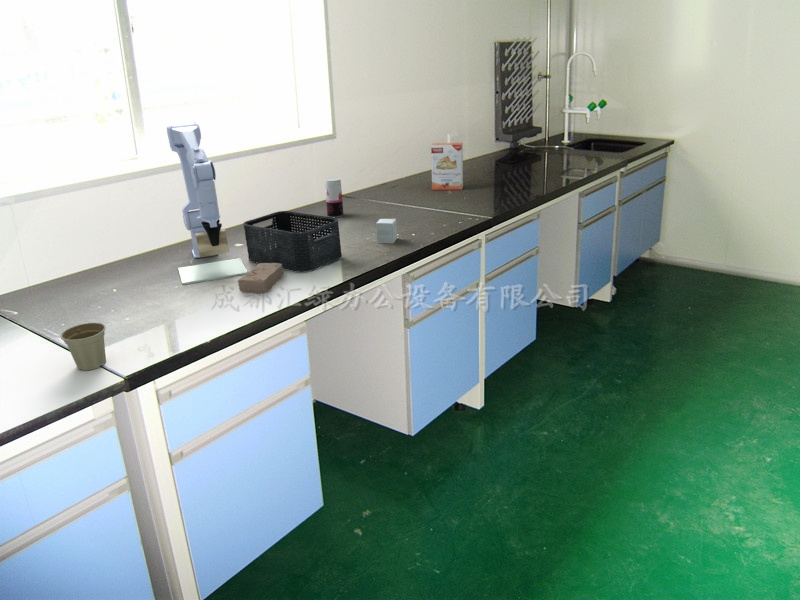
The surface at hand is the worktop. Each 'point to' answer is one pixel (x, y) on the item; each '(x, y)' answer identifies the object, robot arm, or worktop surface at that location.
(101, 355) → the flower pot
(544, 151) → the worktop surface
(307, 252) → the storage bin
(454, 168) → the cracker box
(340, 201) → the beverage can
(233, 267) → the mat
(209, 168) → the robot arm
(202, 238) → the slab
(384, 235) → the product box
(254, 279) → the brick
